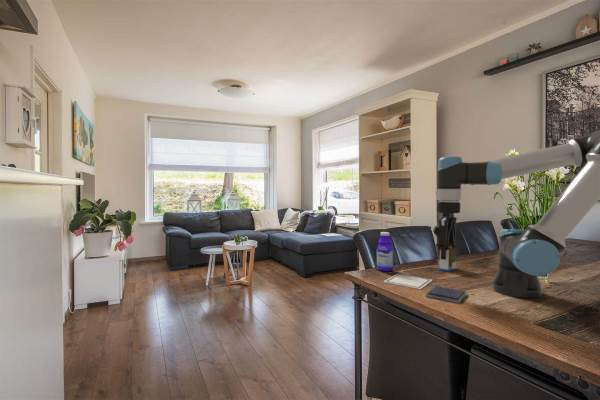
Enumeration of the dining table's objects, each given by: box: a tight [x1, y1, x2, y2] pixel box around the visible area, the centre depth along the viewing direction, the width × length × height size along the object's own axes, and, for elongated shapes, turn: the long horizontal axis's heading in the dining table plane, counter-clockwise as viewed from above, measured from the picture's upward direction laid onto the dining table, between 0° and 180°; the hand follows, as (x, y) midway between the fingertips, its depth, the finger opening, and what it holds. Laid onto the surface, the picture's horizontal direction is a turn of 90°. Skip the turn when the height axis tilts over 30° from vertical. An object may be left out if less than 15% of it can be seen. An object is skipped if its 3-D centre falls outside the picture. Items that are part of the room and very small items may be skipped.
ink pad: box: [425, 285, 468, 305], centre depth 118 cm, size 11×11×1 cm
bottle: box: [376, 231, 394, 272], centre depth 153 cm, size 7×6×17 cm
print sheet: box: [382, 273, 434, 290], centre depth 135 cm, size 15×15×1 cm
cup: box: [435, 243, 460, 268], centre depth 117 cm, size 8×7×8 cm
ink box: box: [437, 259, 457, 272], centre depth 155 cm, size 8×5×15 cm, turn 134°
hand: (446, 266), depth 117 cm, fingers closed on cup, 7 cm apart
